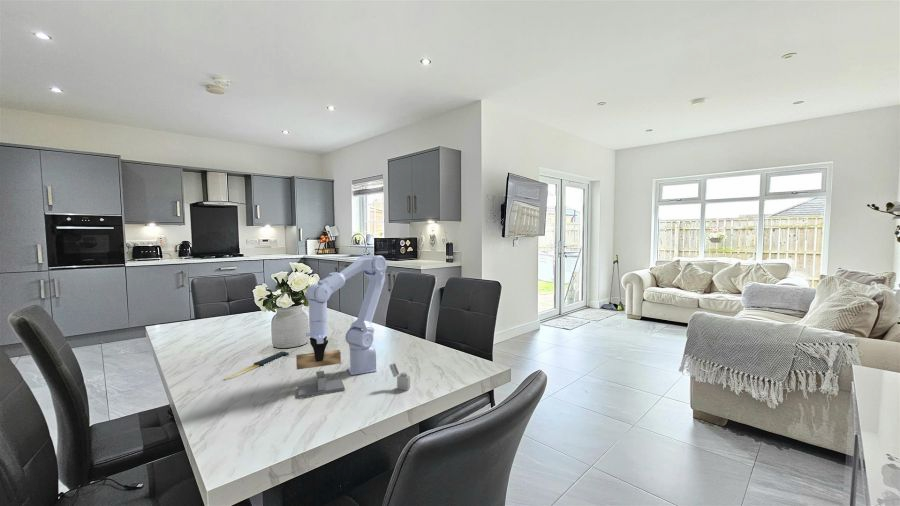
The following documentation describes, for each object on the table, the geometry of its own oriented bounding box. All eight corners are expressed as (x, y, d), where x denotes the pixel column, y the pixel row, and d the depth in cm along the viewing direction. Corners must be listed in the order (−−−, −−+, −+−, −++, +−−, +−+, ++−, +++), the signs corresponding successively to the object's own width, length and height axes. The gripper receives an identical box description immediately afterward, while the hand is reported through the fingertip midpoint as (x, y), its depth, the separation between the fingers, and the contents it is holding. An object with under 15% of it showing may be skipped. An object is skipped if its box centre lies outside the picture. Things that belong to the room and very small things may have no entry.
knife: (288, 352, 158) (229, 377, 130) (288, 355, 159) (229, 382, 130) (280, 351, 160) (219, 376, 131) (280, 355, 160) (220, 381, 131)
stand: (341, 381, 128) (340, 367, 128) (344, 390, 121) (344, 375, 121) (297, 388, 123) (297, 374, 122) (298, 398, 115) (298, 382, 115)
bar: (339, 360, 129) (339, 349, 129) (340, 363, 127) (340, 352, 127) (296, 366, 124) (296, 355, 124) (296, 369, 121) (296, 357, 121)
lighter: (410, 388, 122) (410, 364, 122) (407, 390, 120) (407, 366, 120) (392, 385, 125) (392, 362, 125) (389, 387, 123) (389, 363, 123)
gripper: (304, 316, 130) (305, 354, 130) (306, 325, 116) (307, 367, 117) (325, 314, 133) (326, 352, 133) (329, 323, 119) (330, 364, 120)
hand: (319, 359), depth 125 cm, fingers closed on bar, 3 cm apart
